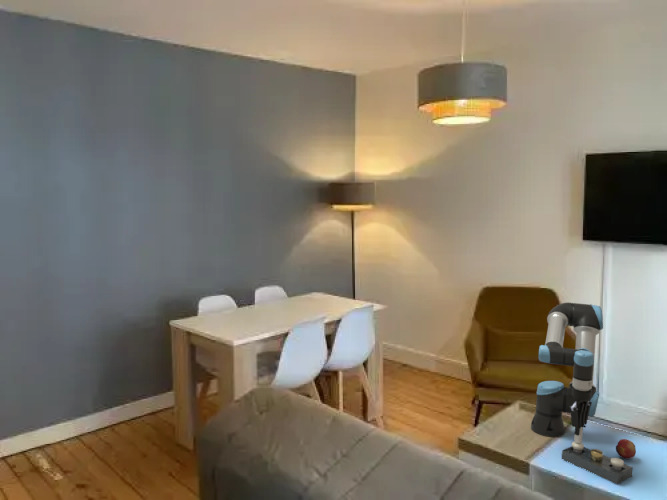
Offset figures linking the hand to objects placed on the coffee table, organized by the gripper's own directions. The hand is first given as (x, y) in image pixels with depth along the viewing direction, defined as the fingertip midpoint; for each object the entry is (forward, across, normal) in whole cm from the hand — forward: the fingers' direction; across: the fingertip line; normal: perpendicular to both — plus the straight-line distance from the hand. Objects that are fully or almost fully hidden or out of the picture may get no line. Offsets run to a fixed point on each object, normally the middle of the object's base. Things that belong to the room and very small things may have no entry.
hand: (578, 441), depth 233 cm
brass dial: (+4, 0, -9) cm, 9 cm away
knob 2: (+7, 0, -17) cm, 18 cm away
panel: (+8, 0, -9) cm, 12 cm away
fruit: (+8, +19, -11) cm, 23 cm away
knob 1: (+7, 0, 0) cm, 7 cm away
